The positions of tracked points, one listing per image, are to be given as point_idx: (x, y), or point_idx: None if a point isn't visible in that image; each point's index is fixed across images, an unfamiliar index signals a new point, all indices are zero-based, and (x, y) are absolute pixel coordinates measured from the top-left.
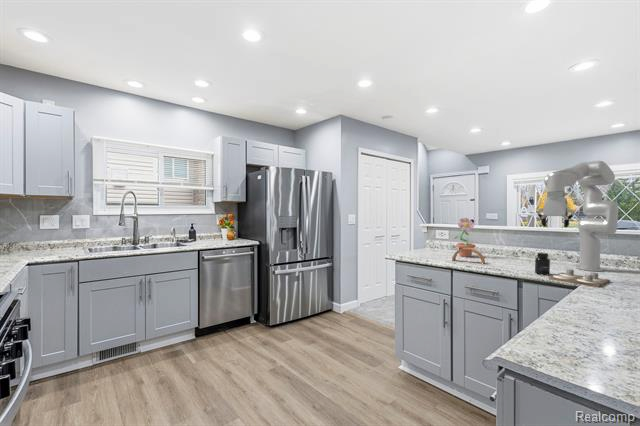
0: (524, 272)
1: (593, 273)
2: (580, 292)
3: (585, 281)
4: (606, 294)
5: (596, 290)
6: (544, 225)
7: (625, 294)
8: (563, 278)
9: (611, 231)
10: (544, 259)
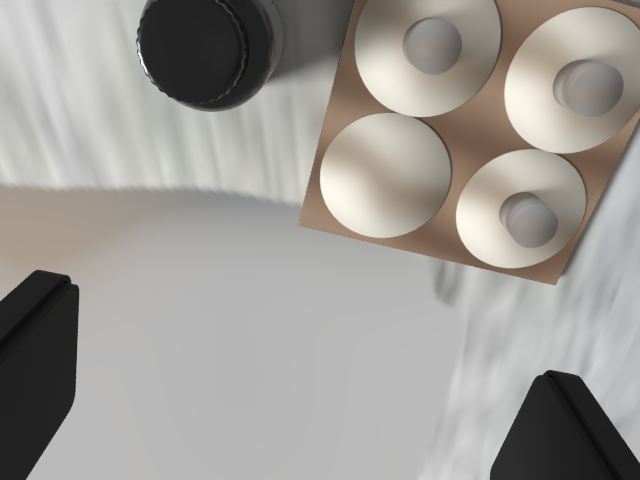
0: (110, 58)
1: (586, 113)
2: (444, 441)
3: (498, 245)
4: None
5: (519, 360)
6: (66, 399)
7: (631, 362)
8: (381, 234)
9: None
10: (230, 103)
